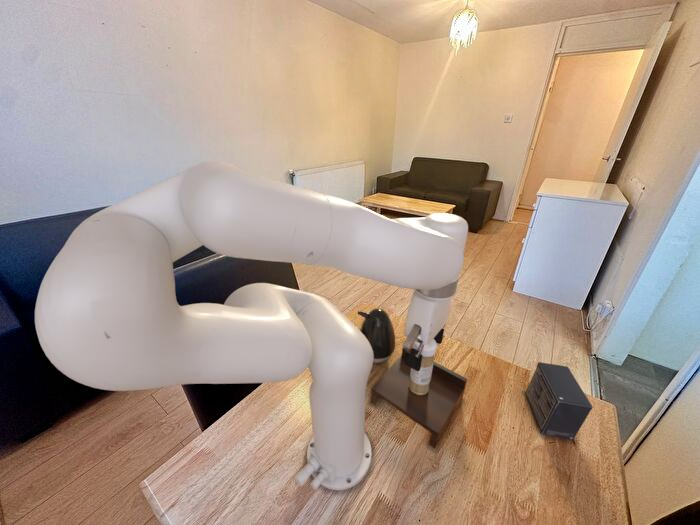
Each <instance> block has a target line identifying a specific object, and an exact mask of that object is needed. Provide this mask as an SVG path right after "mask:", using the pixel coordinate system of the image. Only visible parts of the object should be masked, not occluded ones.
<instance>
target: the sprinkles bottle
mask: <svg viewBox="0 0 700 525" xmlns="http://www.w3.org/2000/svg"><path fill="white" fill-rule="evenodd" d="M417 338H418V339H420V340H421V336H420V335H419V336H418V337H417ZM419 345H420V343H418V342H417V341H415V343H414V345H413V348H414V349H416V350H418V348H419ZM437 349H438V343H436V341H435V340H434V339H433V340H432V341H431V342H430V343H429V344H427V345H424V348H423V350H422V352H421V355H422V362H421V368H420V370H419V371H416V370H414V369H412V368H411V373H410V381H409V388H410V390H411V391H412V392H413V393H415V394H417V395H425V394H426V393H427V392H428V391H429V383H430V380H431V374H432V369H433V361H434V360H435V355H436V353H437ZM434 362H435V361H434Z"/></svg>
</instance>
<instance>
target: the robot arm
mask: <svg viewBox="0 0 700 525" xmlns="http://www.w3.org/2000/svg"><path fill="white" fill-rule="evenodd" d="M468 233H469V224H468V221H467V220H466V219H464V218H463V217H462V216H460V215H457V214H453V213H447V212H437V213H436V212H435V213H430V214H428V215H425V217H424V216H423V217H399V218H397V217H396V218H388V217H386V216H385V215H381V214H379V213H377V212H375V211H373V210H371V209H369V208H366V207H365V206H362V205H360V204H357V203H354V202H352V201H350V200H347V199H344V198H341V197H338V196H333V195H329V194H327V193H322V192H320V191H319V192H318V191H315V190H312V189H307V188H305V187H302V186H297V185H294V184H290V183H287V182H285V181H284V182H283V181H280V180H277V179H273V178H270V177H267V176H264V175H260V174H257V173H254V172H251V171H247V170H245V169H242V168H240V167H239V166H236V165H234V164H232V163H230V162H226V161H222V160H207V161H203V162H200V163H197V164H195V165H192V166H190V167H187V168H186V169H184V170H182V171H180V172H177V173H176V174H174V175H171V176H170V177H168V178H166V179H163V180H161V181H159V182H157V183H156V184H153V185H151V186H150V187H147V188H145V189H143V190H140V191H139V192H137V193H135V194H132V195H130V196H128V197H126V198H124V199H122V200H120V201H118V202H116V203H113V204H111V205H110V206H107V207H105V208H102V209H101V210H99V211H98V212H95V213H93V214H92V215H90V216H89V217H87V218H86V219H84V220H83V221H82V222H81V223H79V225H78V226H77V227H75V229H74V230H73V231H72V233H71V234H70V235H69V237H68V239H67V240H66V242H65V244H64V245H63V247H62V248H61V249H60V251H59V252H58V253H57V255H56V256H55V257H54V259H53V261H52V262H51V263H50V265H49V267H48V269H47V271H46V272H45V274H44V276H43V279H42V281H41V283H40V286H39V289H38V292H37V297H36V301H35V308H34V325H35V331H36V335H37V338H38V342H39V344H40V347H41V349H42V351H43V352H44V354H45V356H46V358H48V360H49V361H50V363H51V364H52V365H53V366H54V367H55V368H56V370H58V371H60V372H61V374H63V375H65V376H66V377H68V378H69V379H71V380H73V381H75V382H77V383H79V384H81V385H84V386H87V387H90V388H93V389H99V390H104V391H113V392H131V391H133V392H134V391H144V390H153V389H161V388H167V387H174V386H183V385H194V384H195V385H196V384H198V385H199V384H200V385H201V384H211V385H219V384H220V385H222V384H223V385H226V384H273V383H274V384H275V383H281V382H287V381H291V380H292V379H295V378H297V377H299V376H300V375H302V374H303V373H304V372H305V371H306V370H307V369H308V371H309V373H310V376H311V378H312V381H311V384H310V387H309V395H308V396H309V398H308V399H309V408H310V417H311V418H310V419H311V428H312V436H311V437H310V439H309V442H308V445H307V448H306V449H307V450H306V464H305V466H303V467H302V468H301V469H300V470H299V472H297V474H296V475H295V476H294V480H295V482H296V484H297V485H298V486H299V487H300V488H302V487H303V486H304V485H305V484H306V482H307V481H308V480H309V479H310V477H311V476H312V477H313V479H312V481H311V482H310V483H309V484H310V486H311V488H312V489H313V490H314V491H317V490H318V488H319V487H320V486H322V487H324V488H326V489H329V490H332V491H344V490H345V491H346V490H348V489H352V488H353V487H355V486H356V485H358V484H359V483H360V482H361V481H362V480H363V479H364V478H365V476H366V475H367V474H368V471H369V469H370V467H371V463H372V456H373V454H372V452H373V450H372V445H371V441H370V438H369V436H368V435H367V433H366V432H365V431H366V430H365V428H366V425H365V424H366V399H367V398H366V397H367V387H368V380H369V377H370V374H371V371H372V369H373V365H374V362H373V360H374V354H373V350H372V347H371V345H370V343H369V341H368V340H367V338H366V337H365V336H364V335H363V333H362V332H361V331H360V328H358V327H357V326H356V324H355V323H354V322H352V321H351V319H349V318H348V317H347V315H345V314H343V313H342V312H341V311H340V309H338V308H337V307H336V306H335V305H334V304H333V303H332V302H331V301H330V300H328V299H327V298H325V297H324V296H321V295H320V294H315V293H312V292H308V291H304V290H299V289H296V288H290V287H286V286H283V285H278V284H273V283H268V282H255V283H249V284H246V285H244V286H241V287H239V288H237V289H236V290H234V291H233V292H232V293H231V294H230V295H229V296H228V297H227V298H226V299H225V301H224V303H223V304H222V303H214V302H213V303H212V302H200V303H199V302H198V303H191V304H185V305H180V304H179V302H178V301H177V296H176V295H177V294H176V280H175V273H174V263H175V262H177V261H178V260H180V259H182V258H184V257H185V256H187V255H188V254H190V253H192V252H193V251H195V250H197V249H199V248H200V247H203V246H204V247H205V248H206V249H208V250H210V251H211V252H214V253H216V254H219V255H222V256H224V257H228V258H229V257H230V258H236V259H245V260H255V261H256V260H257V261H265V262H266V261H267V262H280V263H290V264H299V265H307V266H317V267H325V268H330V269H334V270H337V271H340V272H343V273H346V274H349V275H353V276H357V277H361V278H364V279H368V280H372V281H375V282H378V283H381V284H385V285H388V286H393V287H398V288H402V289H407V290H408V289H409V290H413V292H412V294H411V299H410V302H409V305H408V310H407V315H406V319H405V325H404V337H406V339H405V340H404V342H403V345H402V348H403V347H404V351H406V355H405V364H406V365H407V366H409V367H411V368H412V369H414V370H416V371H419V370H420V368H421V362H422V355H421V352H422V350H423V348H424V345H427V344H429V343H430V342H431V341H432V340H433V339H434V340H435V341H436V343H437V345H441V344H443V339H444V334H445V327H446V325H447V321H448V319H449V314H450V309H451V305H452V304H451V303H452V299H453V298H454V297H455V295H456V292H457V287H458V283H459V278H460V274H461V271H462V269H463V265H464V261H465V256H464V253H465V249H466V243H467V238H468ZM418 336H421V340H420V339H418V338H417V337H418ZM415 341H417V342H418V343H420V345H419V348H418V350H416V349H414V348H413V346H414V343H415Z"/></svg>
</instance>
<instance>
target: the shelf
mask: <svg viewBox="0 0 700 525" xmlns="http://www.w3.org/2000/svg"><path fill="white" fill-rule="evenodd" d="M405 355H406V351H404V347H403V346H402V348H401V355H400V356H399V358H398V359H396V360H395V362H394V363H393V364H392V365H391V366H390V367H389V368H388V369H387V370H386V372H385V373H384V374H383V375H382V376H381V377H380V378H379V379H378V380H377V381H376V382H375V383H374V385H373V386H372V387H370V388H371V392H370V404H372V405H373V406H374V407H376V405H377V404H378V403H379V401H381V400H383V401H384V402H386V403H387V404H388V405H389V406H392V407H393V408H394V409H396V410H397V411H398V412H400V413H402V414H403V415H404V416H406V417H408V419H410V420H412V421H413V422H415V423H416V424H417V425H419V426H420V427H422V428H423V429H424V430H426V431H428V432H429V433H431V437H430V440H429V441H430V442H429V446H430V447H432V449H434V450H436V448H437V447H438V444H440V441H441V439H442V437H443V436H444V434H445V432H446V430H447V429H448V427H449V425H450V423H451V421H452V420H453V418H454V416H455V415H456V412H457V411H458V409H459V407H460V405H461V404H462V402H463V398H464V394H465V391H466V386H467V382H468V378H466V377H464V376H463V375H461V374H459V373H457V372H455V371H453V370H451V369H449V368H447V367H446V366H443V365H441V364H440V363H438V362H436V361H433V369H432V374H431V380H430V383H429V391H428V392H427V393H426V394H425V395H417V394H415V393H413V392H412V391H411V390H410V388H409V381H410V373H411V367H409V366H407V365H406V364H405Z"/></svg>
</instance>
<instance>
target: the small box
mask: <svg viewBox="0 0 700 525" xmlns="http://www.w3.org/2000/svg"><path fill="white" fill-rule="evenodd" d="M524 395H525V397H526V399H527V402H528V405H529V407H530V409H531V413H532V414H533V417H534V419H535V423H536V425H537V427H538V429H539V432H540V434H541V435H542V436H548V437H554V438H558V439H563V440H568V441H574V440H575V438H576V436H577V434H578V432H579V431H580V429H581V428H582V426H583V424H584V423H585V421H586V419H587V418H588V417H589V414H590V413H591V411H592V409H593V408H594V407H593V405H592V403H591V402H590V400H589V398H588V397H587V396H586V393H585V392H584V390H582V388H581V385H580V384H579V383H578V381H577V379H576V377H575V376H574V375H573V373H572V371H571V369H570V368H569V367H568V366H566V365H561V364H560V365H559V364H555V363H548V362H547V363H546V362H540V361H538V362H537V365H536V367H535V371H534V373H533V375H532V377H531V380H530V381H529V384H528V386H527V389H526V391H525V393H524Z"/></svg>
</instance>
